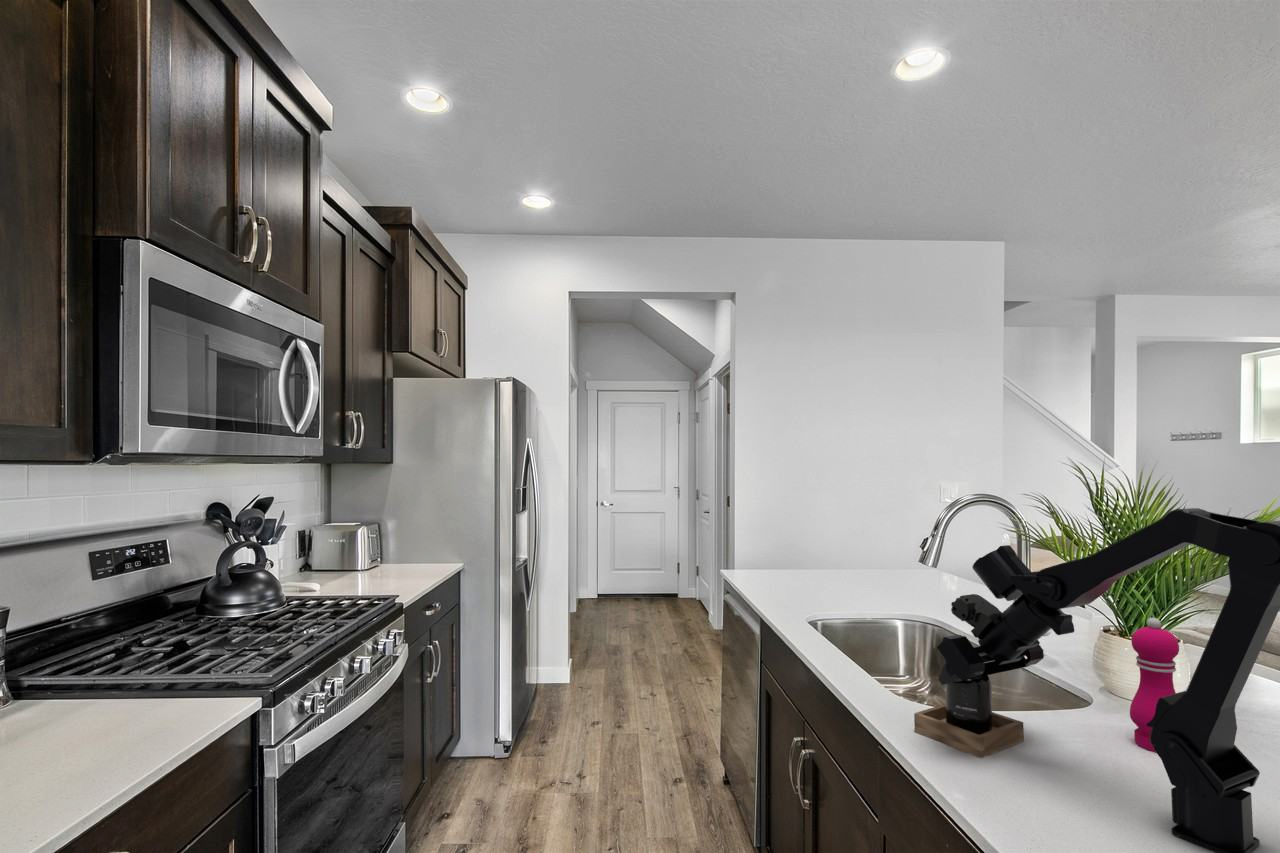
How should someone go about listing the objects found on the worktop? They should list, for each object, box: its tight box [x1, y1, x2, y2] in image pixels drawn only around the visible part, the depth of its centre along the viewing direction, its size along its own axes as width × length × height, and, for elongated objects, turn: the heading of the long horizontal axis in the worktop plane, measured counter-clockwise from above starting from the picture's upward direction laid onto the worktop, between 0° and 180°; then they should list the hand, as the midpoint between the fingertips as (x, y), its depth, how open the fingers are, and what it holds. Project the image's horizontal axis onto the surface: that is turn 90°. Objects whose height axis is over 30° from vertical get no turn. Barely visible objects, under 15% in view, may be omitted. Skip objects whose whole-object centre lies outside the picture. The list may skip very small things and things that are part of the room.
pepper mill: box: [1129, 617, 1180, 753], centre depth 105 cm, size 7×7×20 cm
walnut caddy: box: [913, 703, 1025, 759], centre depth 108 cm, size 12×12×3 cm
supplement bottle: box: [945, 666, 993, 735], centre depth 109 cm, size 7×7×12 cm
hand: (959, 677), depth 110 cm, fingers open, 9 cm apart
